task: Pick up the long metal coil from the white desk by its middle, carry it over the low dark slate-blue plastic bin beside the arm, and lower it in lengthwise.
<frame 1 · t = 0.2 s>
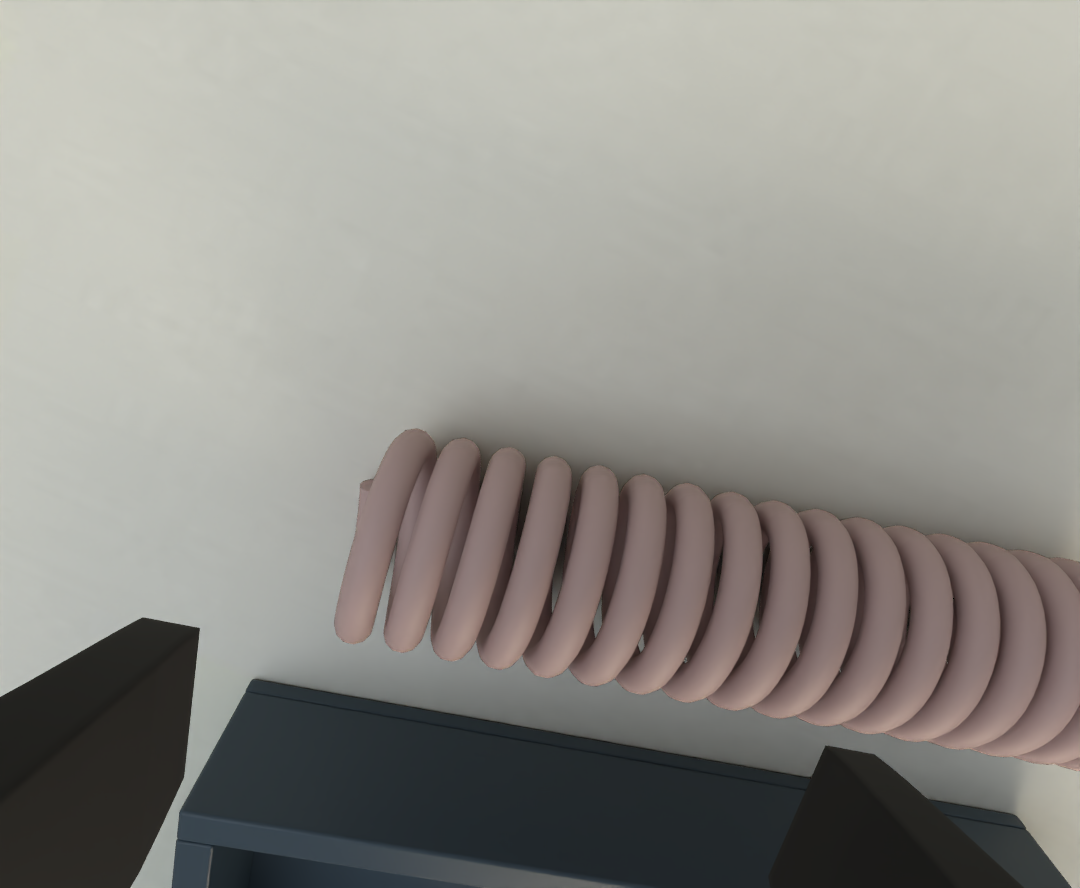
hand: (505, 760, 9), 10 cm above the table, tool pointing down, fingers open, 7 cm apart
coil: (718, 549, 19), on the table
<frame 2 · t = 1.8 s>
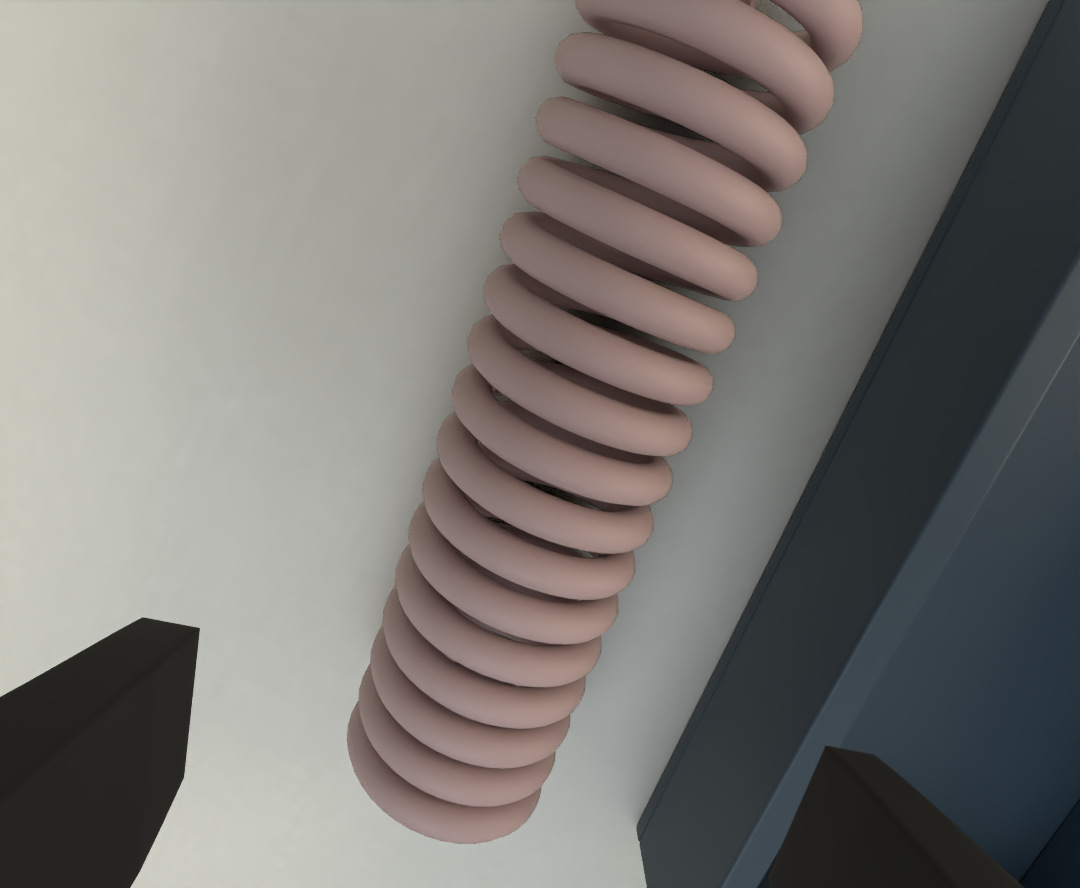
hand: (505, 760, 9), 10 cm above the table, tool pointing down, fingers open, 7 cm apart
bin: (1020, 553, 19), on the table
coil: (558, 396, 17), on the table
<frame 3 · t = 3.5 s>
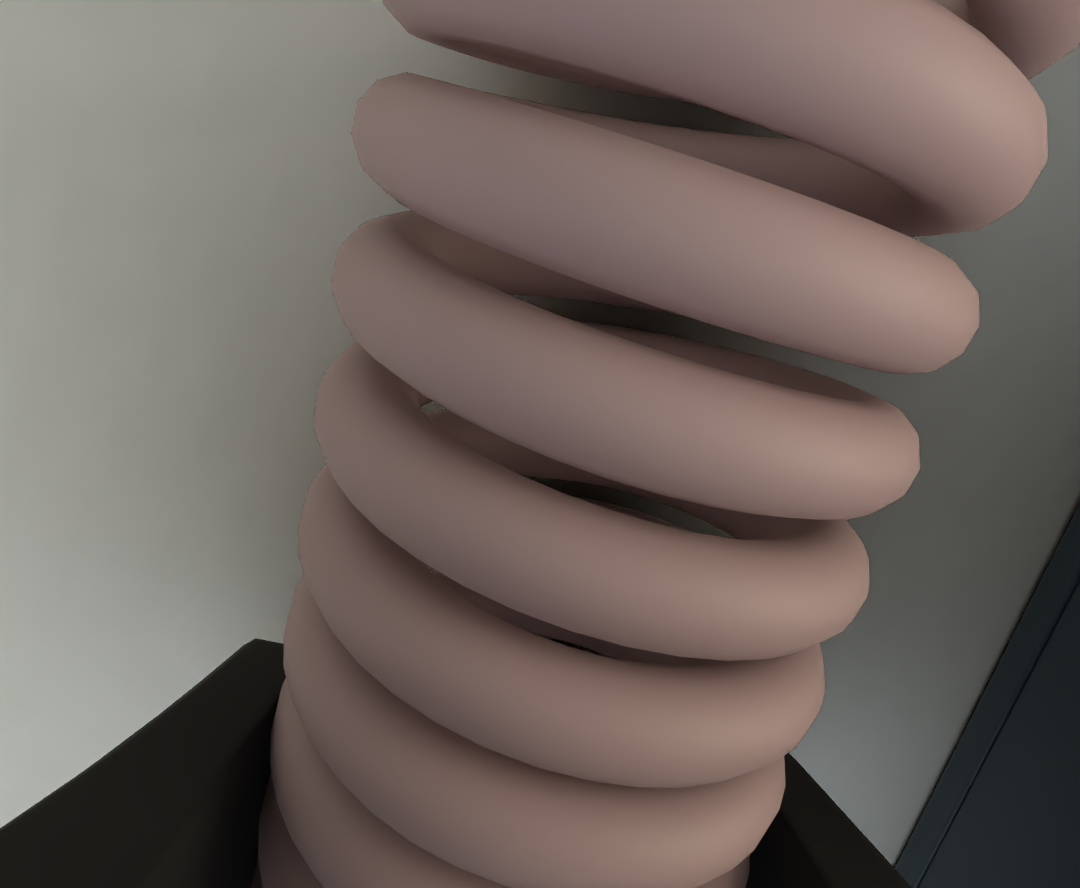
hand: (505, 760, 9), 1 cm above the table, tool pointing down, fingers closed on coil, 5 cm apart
coil: (504, 672, 10), on the table, touching gripper
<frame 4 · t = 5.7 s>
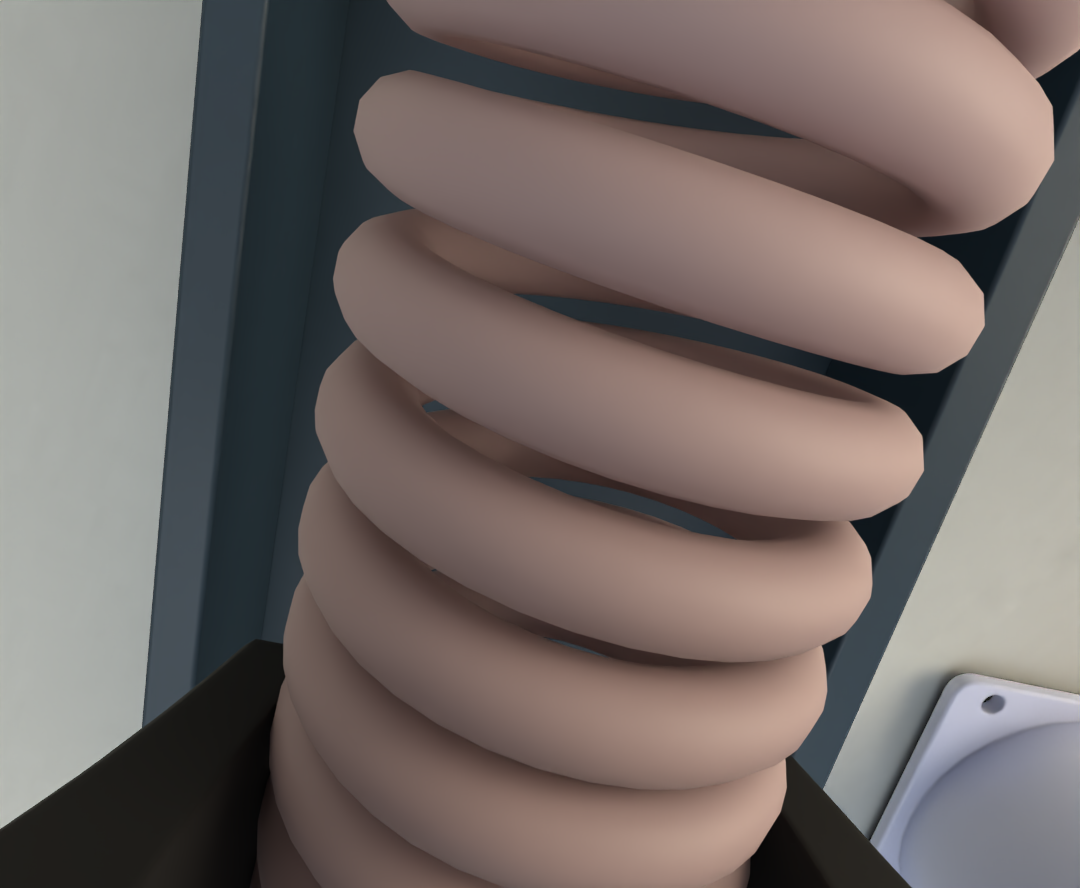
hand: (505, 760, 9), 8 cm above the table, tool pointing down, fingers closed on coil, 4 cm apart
bin: (530, 493, 16), on the table
coil: (504, 673, 10), point 6 cm above the table, touching gripper
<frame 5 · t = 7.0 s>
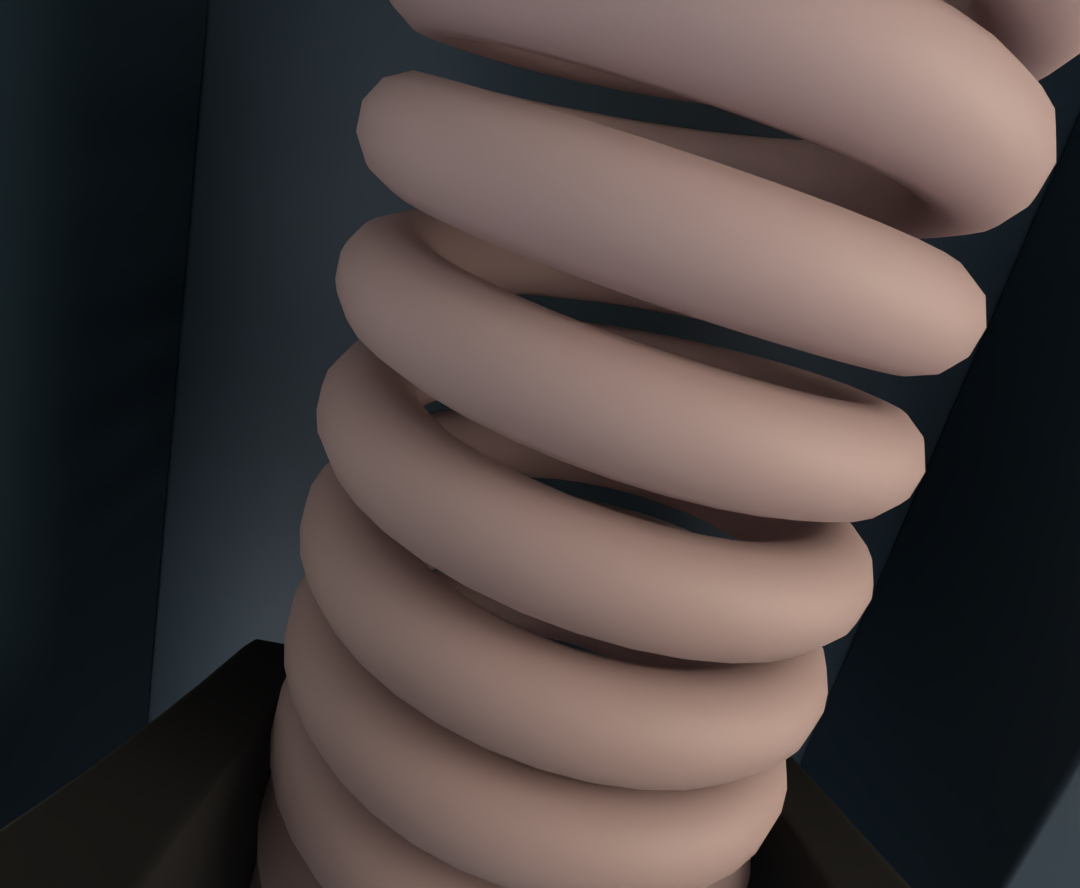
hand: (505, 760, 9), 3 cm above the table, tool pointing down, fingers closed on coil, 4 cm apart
bin: (510, 611, 12), on the table
coil: (504, 673, 10), point 2 cm above the table, touching gripper
when the fingers open (2 cm above the table, at t = 7.9 s): coil stays where it is, resting on bin.
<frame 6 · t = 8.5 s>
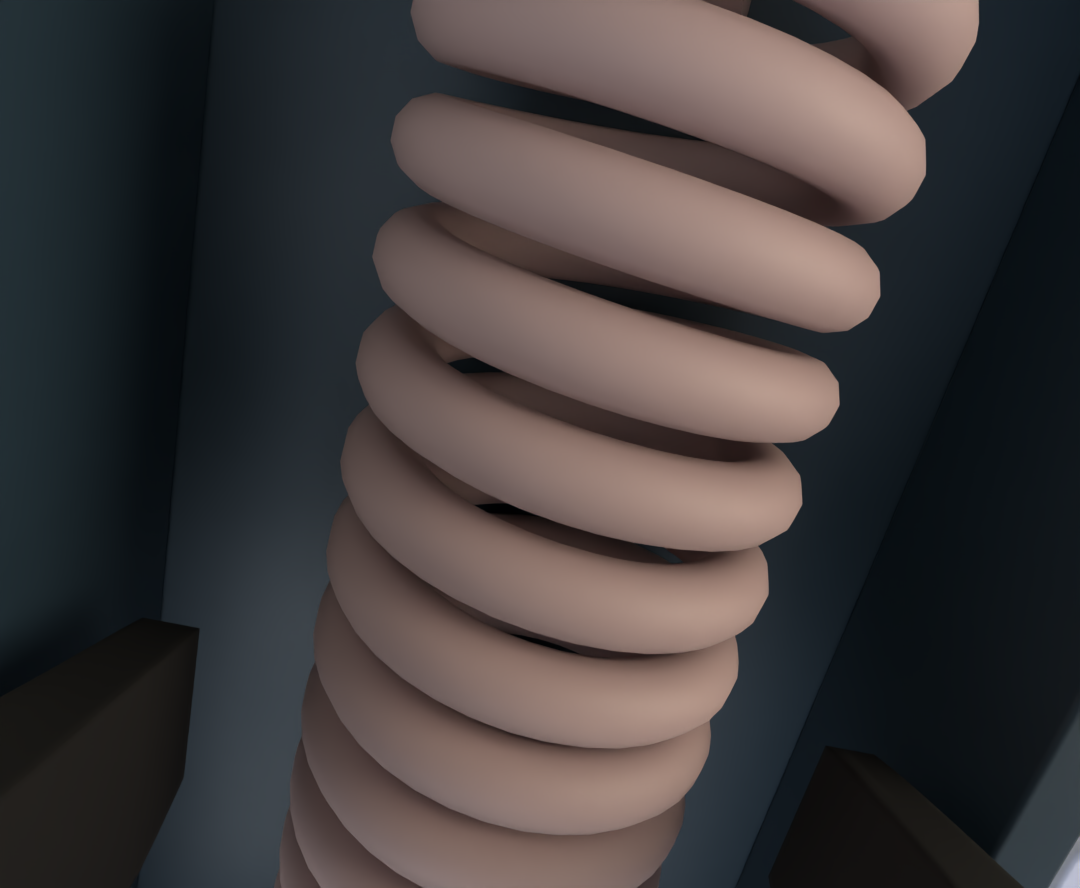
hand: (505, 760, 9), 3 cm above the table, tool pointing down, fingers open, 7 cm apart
bin: (509, 601, 12), on the table
coil: (505, 611, 12), resting on bin
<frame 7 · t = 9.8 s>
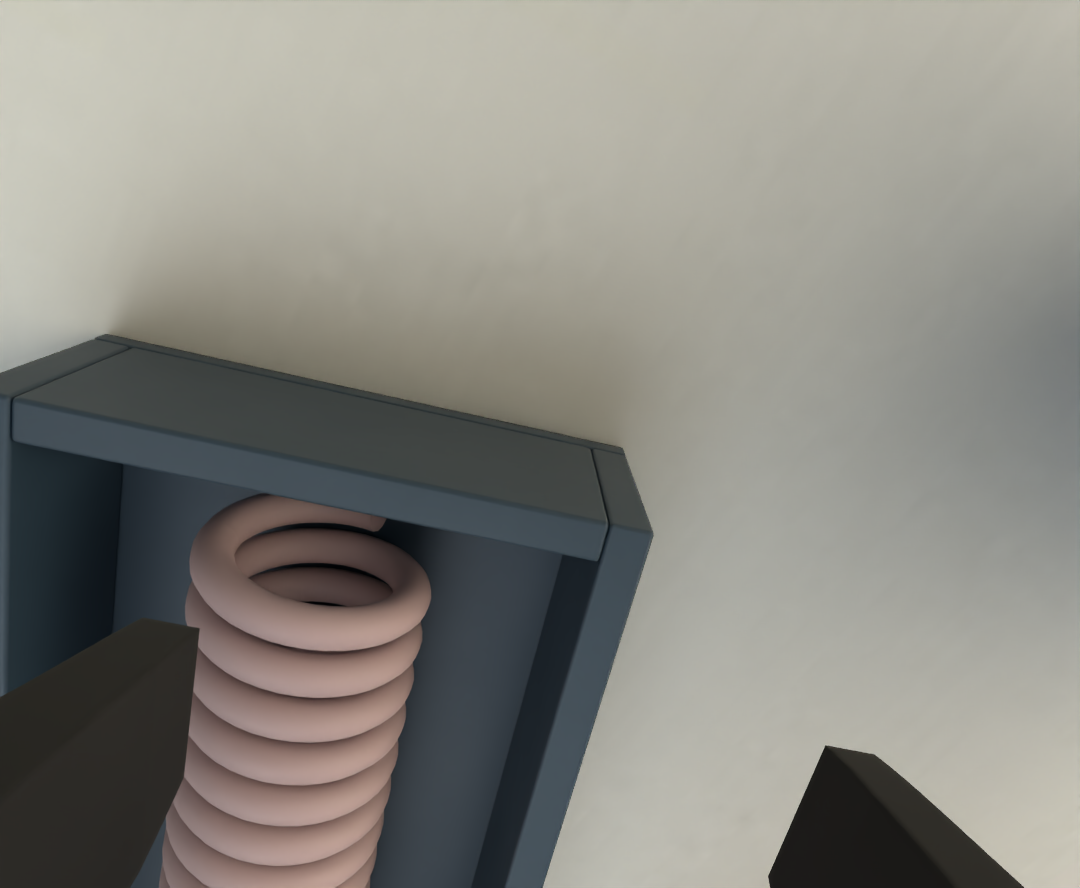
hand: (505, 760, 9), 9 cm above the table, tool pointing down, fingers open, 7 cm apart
bin: (306, 778, 20), on the table
coil: (301, 787, 20), resting on bin
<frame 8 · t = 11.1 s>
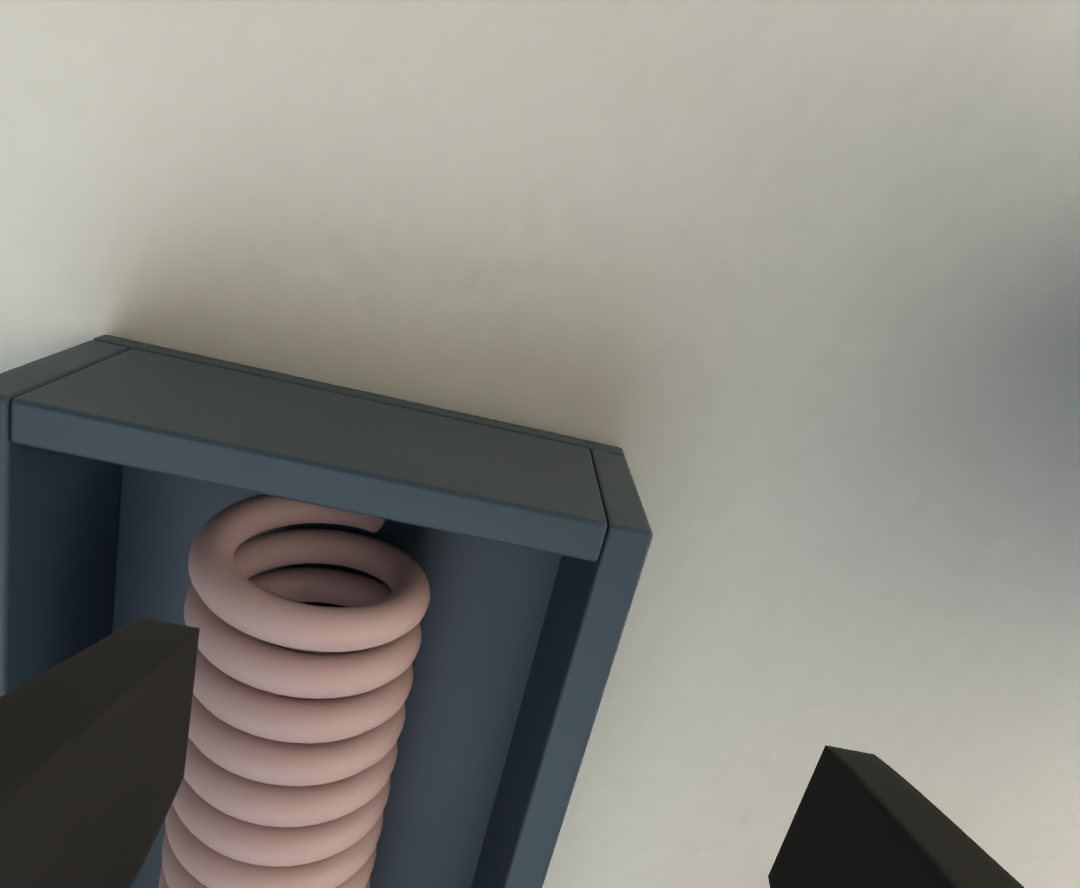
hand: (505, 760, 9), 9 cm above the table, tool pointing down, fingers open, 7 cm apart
bin: (305, 779, 20), on the table
coil: (300, 787, 20), resting on bin
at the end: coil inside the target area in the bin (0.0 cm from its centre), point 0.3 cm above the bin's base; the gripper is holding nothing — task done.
